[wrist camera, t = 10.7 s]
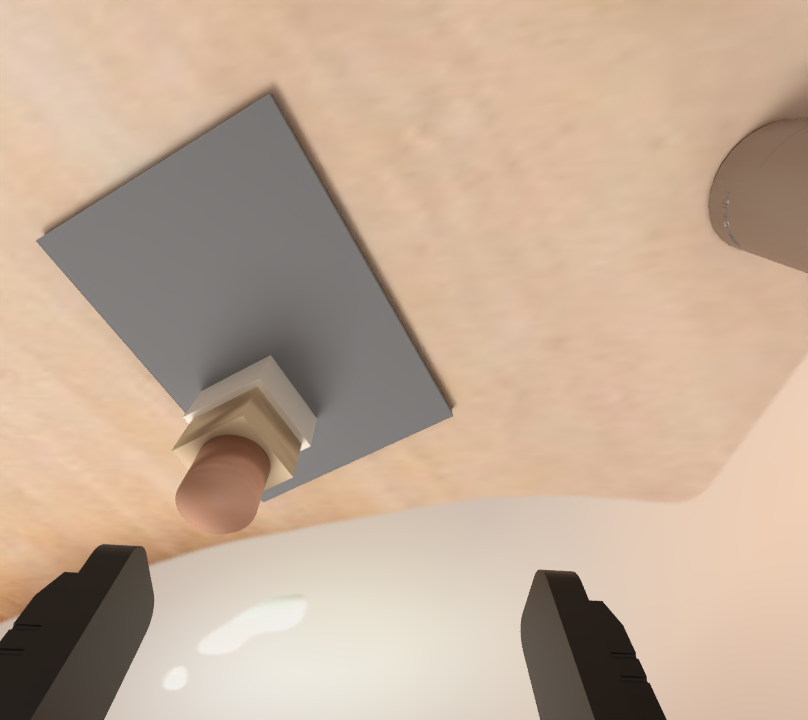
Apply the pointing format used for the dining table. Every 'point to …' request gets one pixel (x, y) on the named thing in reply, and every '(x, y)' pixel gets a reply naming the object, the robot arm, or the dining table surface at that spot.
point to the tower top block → (245, 433)
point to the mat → (252, 287)
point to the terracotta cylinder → (224, 485)
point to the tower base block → (273, 388)
